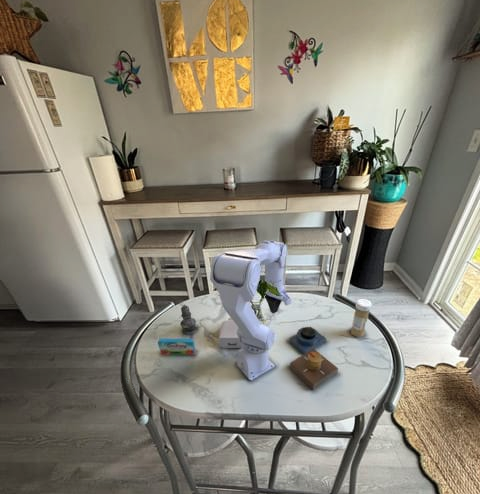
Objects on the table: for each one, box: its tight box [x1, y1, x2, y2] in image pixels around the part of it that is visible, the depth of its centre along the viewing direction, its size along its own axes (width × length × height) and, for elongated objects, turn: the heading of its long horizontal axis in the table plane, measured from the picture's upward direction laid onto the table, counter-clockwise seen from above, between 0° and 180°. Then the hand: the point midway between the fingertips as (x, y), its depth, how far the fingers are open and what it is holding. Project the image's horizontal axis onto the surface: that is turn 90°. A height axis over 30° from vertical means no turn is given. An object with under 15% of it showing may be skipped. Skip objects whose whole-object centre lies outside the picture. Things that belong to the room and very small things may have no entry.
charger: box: [218, 317, 243, 349], centre depth 99 cm, size 5×9×15 cm
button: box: [301, 326, 316, 339], centre depth 93 cm, size 4×4×2 cm
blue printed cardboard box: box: [157, 337, 197, 356], centre depth 92 cm, size 12×2×6 cm, turn 85°
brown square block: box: [289, 348, 339, 391], centre depth 83 cm, size 10×10×3 cm
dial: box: [307, 352, 322, 370], centre depth 82 cm, size 4×4×4 cm
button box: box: [288, 326, 327, 355], centre depth 94 cm, size 10×8×4 cm
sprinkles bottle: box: [350, 298, 372, 338], centre depth 93 cm, size 5×5×14 cm
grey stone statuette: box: [179, 304, 198, 335], centre depth 101 cm, size 6×6×12 cm
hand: (274, 311), depth 93 cm, fingers closed
